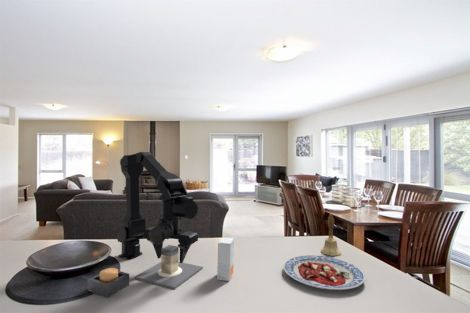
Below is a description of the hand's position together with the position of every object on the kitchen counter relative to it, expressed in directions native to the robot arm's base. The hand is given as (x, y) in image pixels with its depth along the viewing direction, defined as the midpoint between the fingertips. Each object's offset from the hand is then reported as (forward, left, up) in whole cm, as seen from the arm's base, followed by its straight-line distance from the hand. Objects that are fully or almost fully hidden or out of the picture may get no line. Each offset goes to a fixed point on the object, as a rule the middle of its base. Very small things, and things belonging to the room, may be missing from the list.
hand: (170, 260), depth 89 cm
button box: (-10, -16, -4) cm, 19 cm away
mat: (0, 0, -4) cm, 4 cm away
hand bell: (+48, +45, -5) cm, 66 cm away
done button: (-10, -16, -2) cm, 19 cm away
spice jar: (0, 0, -4) cm, 4 cm away
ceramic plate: (+47, +21, -5) cm, 52 cm away
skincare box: (+18, +6, -4) cm, 20 cm away
